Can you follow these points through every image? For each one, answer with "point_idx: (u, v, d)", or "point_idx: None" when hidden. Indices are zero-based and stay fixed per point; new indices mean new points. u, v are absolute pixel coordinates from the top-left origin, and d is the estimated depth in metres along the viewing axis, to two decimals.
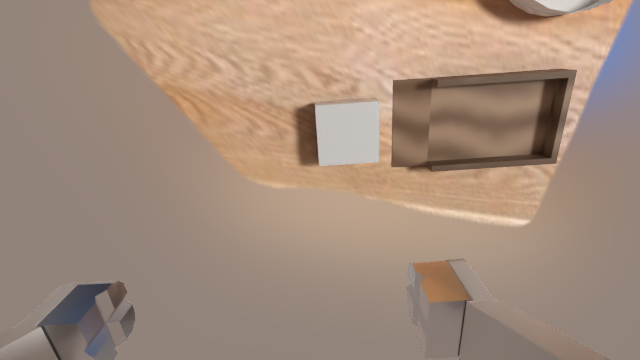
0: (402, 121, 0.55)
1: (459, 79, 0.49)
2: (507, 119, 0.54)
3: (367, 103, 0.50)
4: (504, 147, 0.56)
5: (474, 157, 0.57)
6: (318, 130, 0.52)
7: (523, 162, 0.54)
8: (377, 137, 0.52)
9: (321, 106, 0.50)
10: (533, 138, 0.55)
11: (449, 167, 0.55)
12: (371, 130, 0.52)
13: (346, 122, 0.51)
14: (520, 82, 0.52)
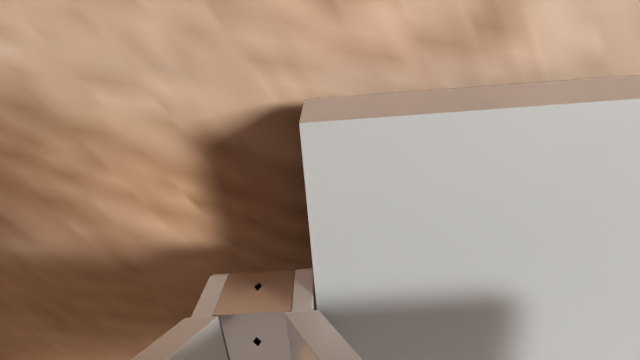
0: None
1: None
2: None
3: None
4: None
5: None
6: (328, 289, 0.08)
7: None
8: None
9: (354, 130, 0.06)
10: None
11: None
12: None
13: (526, 244, 0.07)
14: None
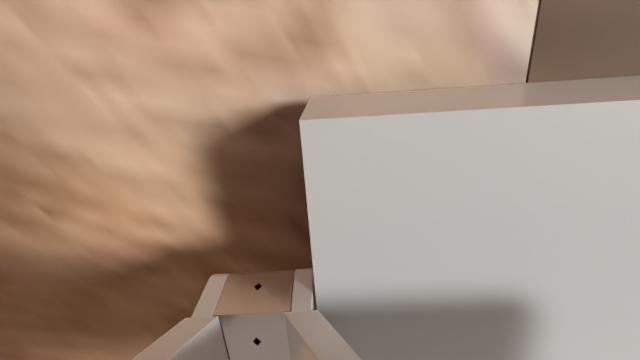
0: None
1: None
2: None
3: None
4: None
5: None
6: (327, 286, 0.08)
7: None
8: None
9: (354, 127, 0.06)
10: None
11: None
12: None
13: (531, 247, 0.07)
14: None
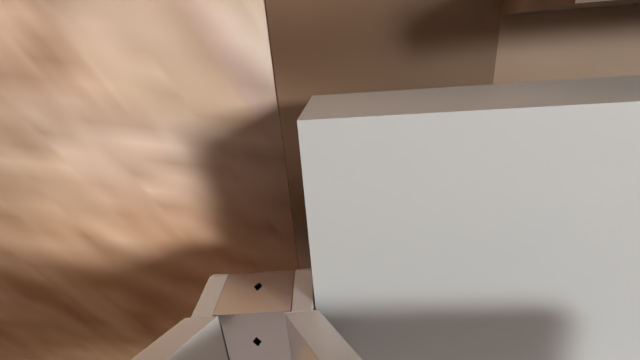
0: None
1: None
2: None
3: None
4: None
5: None
6: (327, 293, 0.07)
7: None
8: None
9: (354, 128, 0.06)
10: None
11: None
12: None
13: (544, 256, 0.07)
14: None
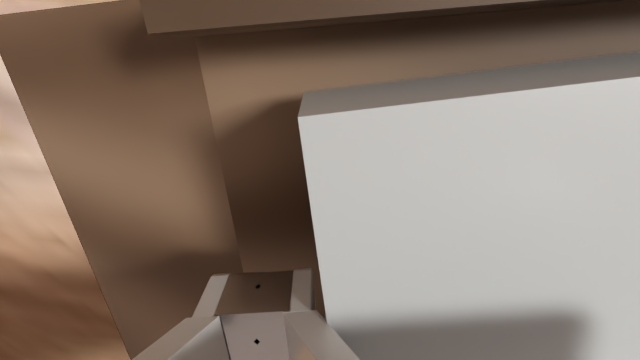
0: (116, 229, 0.11)
1: None
2: None
3: None
4: None
5: None
6: (339, 307, 0.07)
7: None
8: None
9: (363, 122, 0.05)
10: None
11: None
12: None
13: (568, 246, 0.06)
14: None
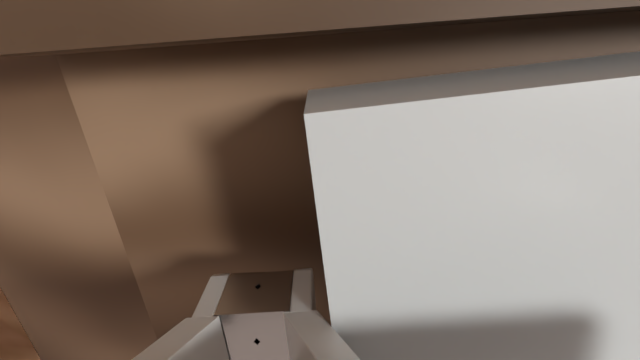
0: (12, 241, 0.11)
1: None
2: None
3: None
4: None
5: None
6: (344, 307, 0.07)
7: None
8: None
9: (370, 119, 0.05)
10: None
11: None
12: None
13: (577, 247, 0.06)
14: (606, 37, 0.08)
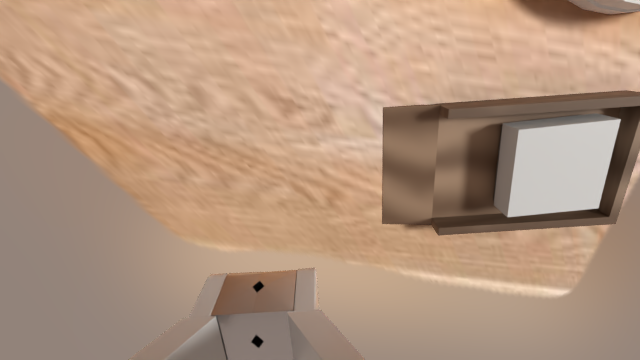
0: (397, 164, 0.39)
1: (481, 108, 0.33)
2: None
3: (601, 123, 0.32)
4: None
5: (498, 212, 0.40)
6: (516, 166, 0.34)
7: (569, 222, 0.38)
8: (604, 173, 0.34)
9: (528, 130, 0.32)
10: None
11: (464, 229, 0.38)
12: (598, 163, 0.34)
13: (561, 153, 0.33)
14: (568, 110, 0.36)
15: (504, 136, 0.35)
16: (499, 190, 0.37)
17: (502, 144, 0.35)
